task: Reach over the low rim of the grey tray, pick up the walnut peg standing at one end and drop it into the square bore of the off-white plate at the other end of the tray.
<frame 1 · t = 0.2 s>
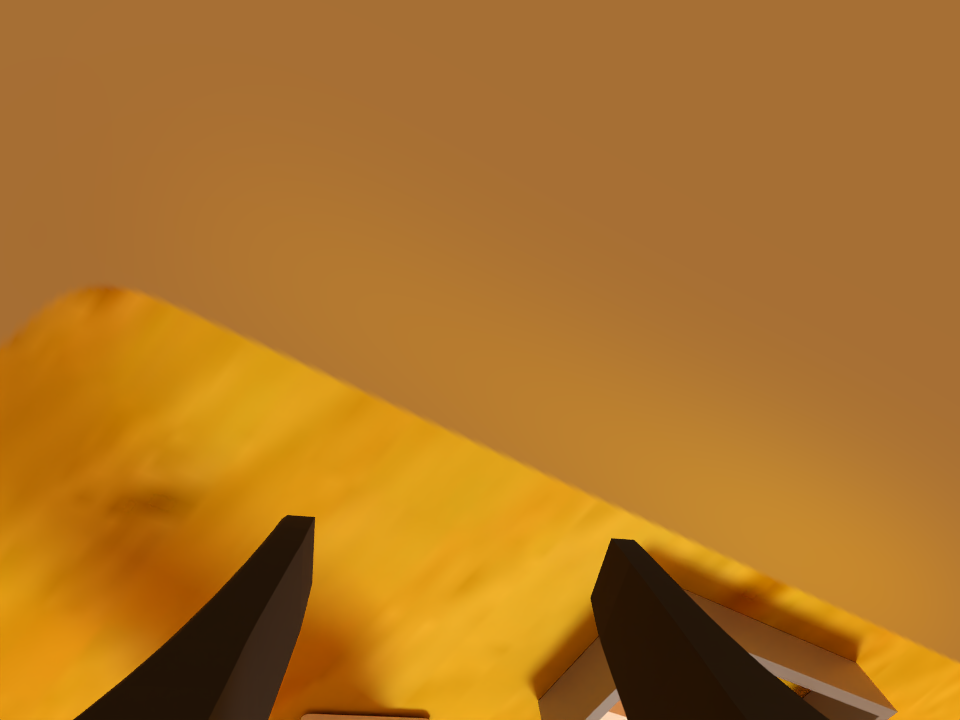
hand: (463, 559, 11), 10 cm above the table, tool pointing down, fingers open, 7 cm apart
grey tray: (700, 682, 30), on the table
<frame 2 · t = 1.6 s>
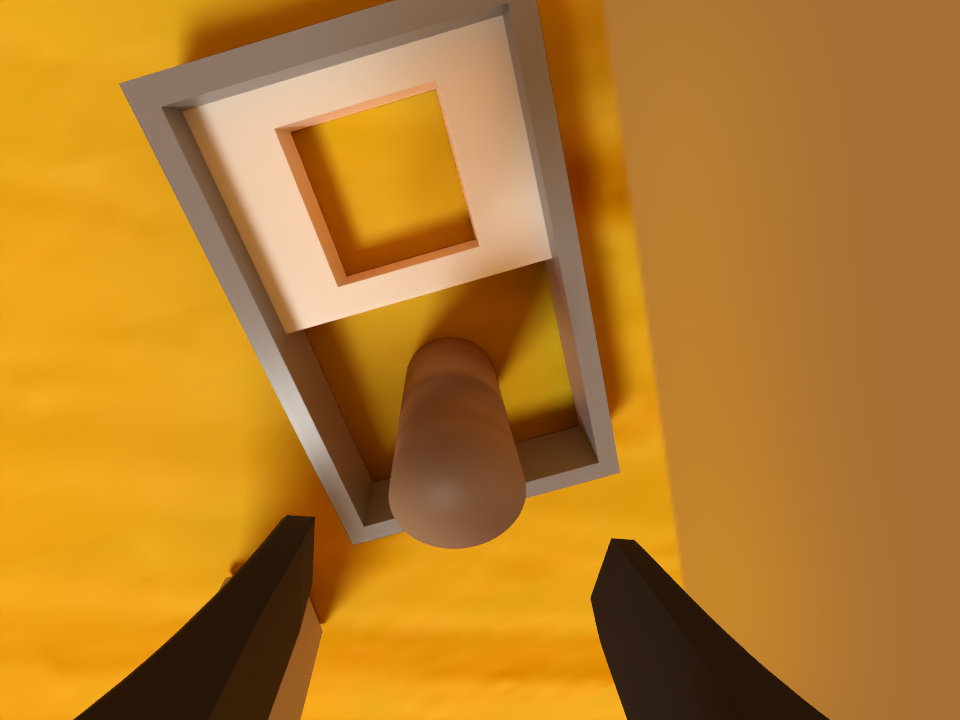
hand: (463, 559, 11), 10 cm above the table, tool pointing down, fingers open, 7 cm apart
grey tray: (423, 296, 19), on the table
walnut peg: (450, 379, 21), resting in grey tray
vintage mobile phone: (278, 597, 25), on the table
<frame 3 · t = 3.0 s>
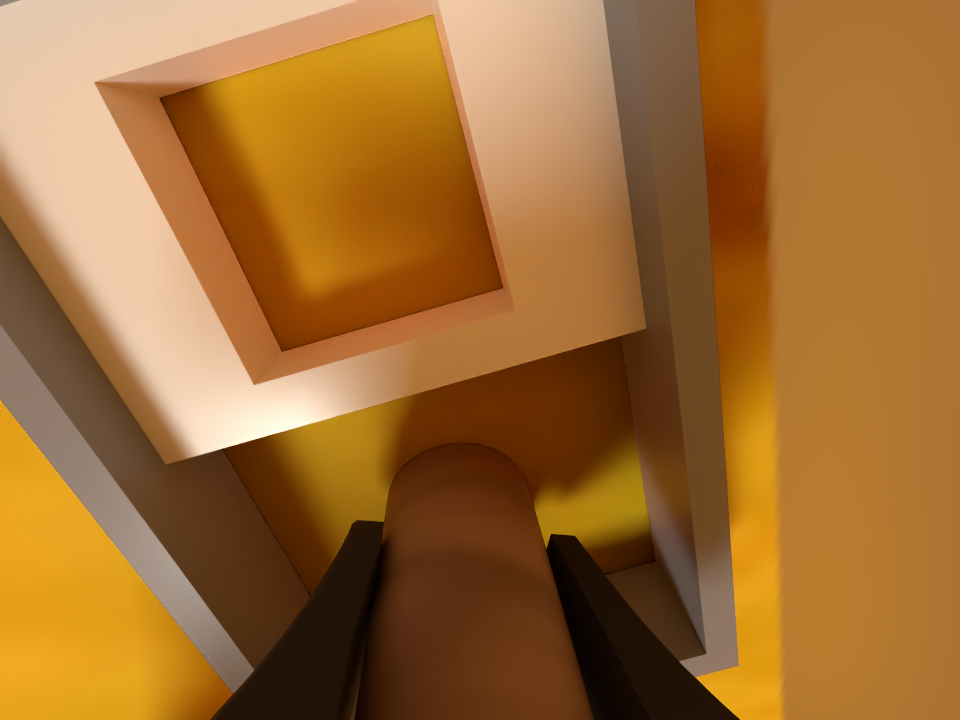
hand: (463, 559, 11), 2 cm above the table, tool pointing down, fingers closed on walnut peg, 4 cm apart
grey tray: (414, 381, 11), on the table
walnut peg: (459, 503, 13), resting in grey tray, touching gripper
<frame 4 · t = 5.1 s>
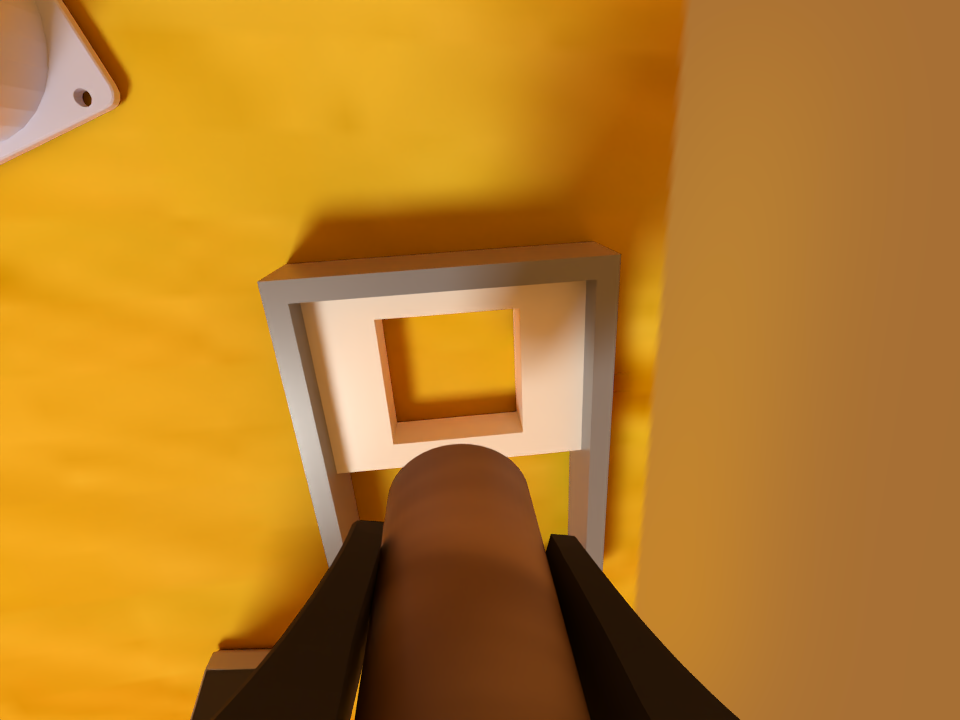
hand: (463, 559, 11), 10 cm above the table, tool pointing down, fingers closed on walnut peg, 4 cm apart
grey tray: (459, 447, 21), on the table
walnut peg: (459, 503, 13), point 8 cm above the table, touching gripper
vintage mobile phone: (257, 672, 26), on the table
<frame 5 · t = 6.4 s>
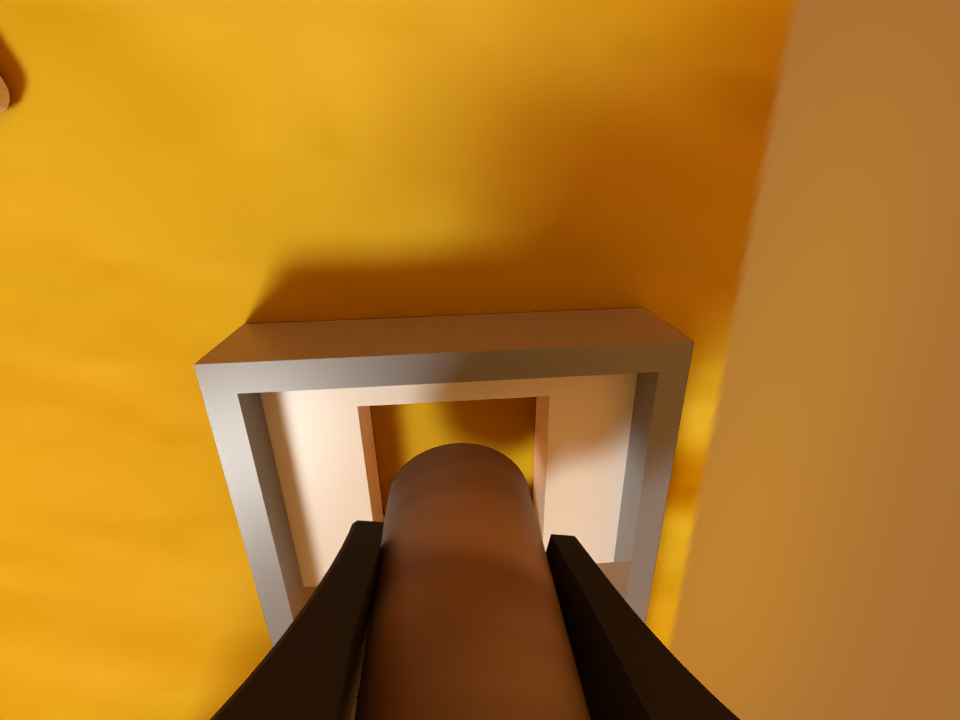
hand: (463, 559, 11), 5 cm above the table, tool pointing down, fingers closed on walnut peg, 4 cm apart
grey tray: (460, 545, 17), on the table
walnut peg: (459, 502, 13), point 3 cm above the table, touching gripper
when the fingers open (3 cm above the table, at t = 7.4 s): walnut peg stays where it is, resting in grey tray.
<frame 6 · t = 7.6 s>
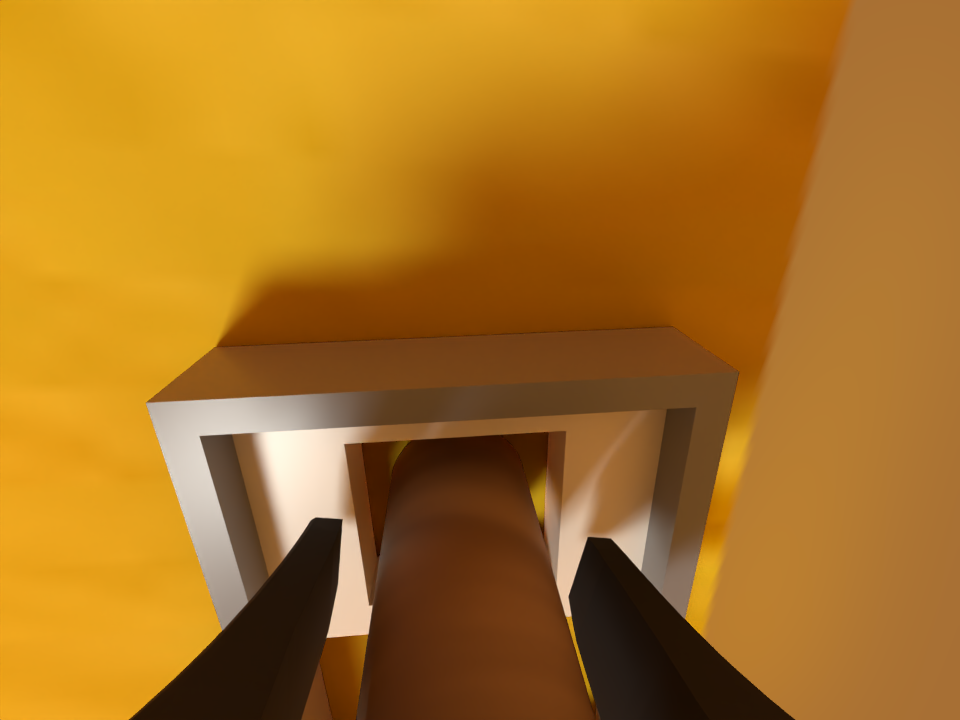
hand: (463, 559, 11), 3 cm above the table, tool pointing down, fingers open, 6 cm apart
grey tray: (462, 587, 16), on the table
walnut peg: (458, 482, 14), resting in grey tray
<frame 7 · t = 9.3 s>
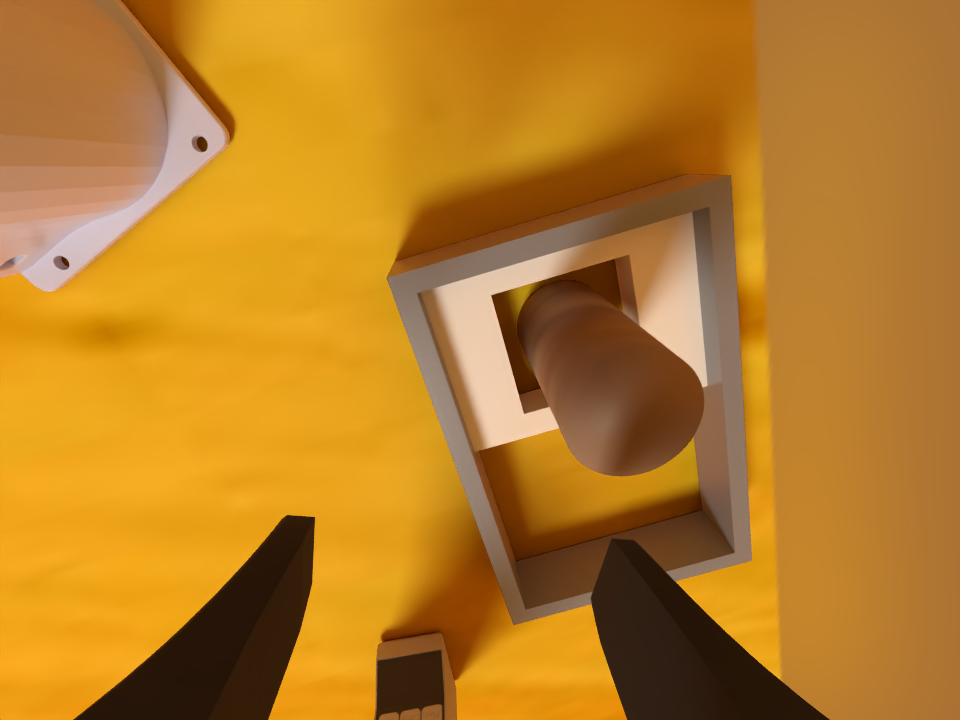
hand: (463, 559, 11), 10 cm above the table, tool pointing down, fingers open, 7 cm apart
grey tray: (580, 408, 22), on the table
walnut peg: (562, 325, 20), resting in grey tray
vintage mobile phone: (418, 658, 28), on the table
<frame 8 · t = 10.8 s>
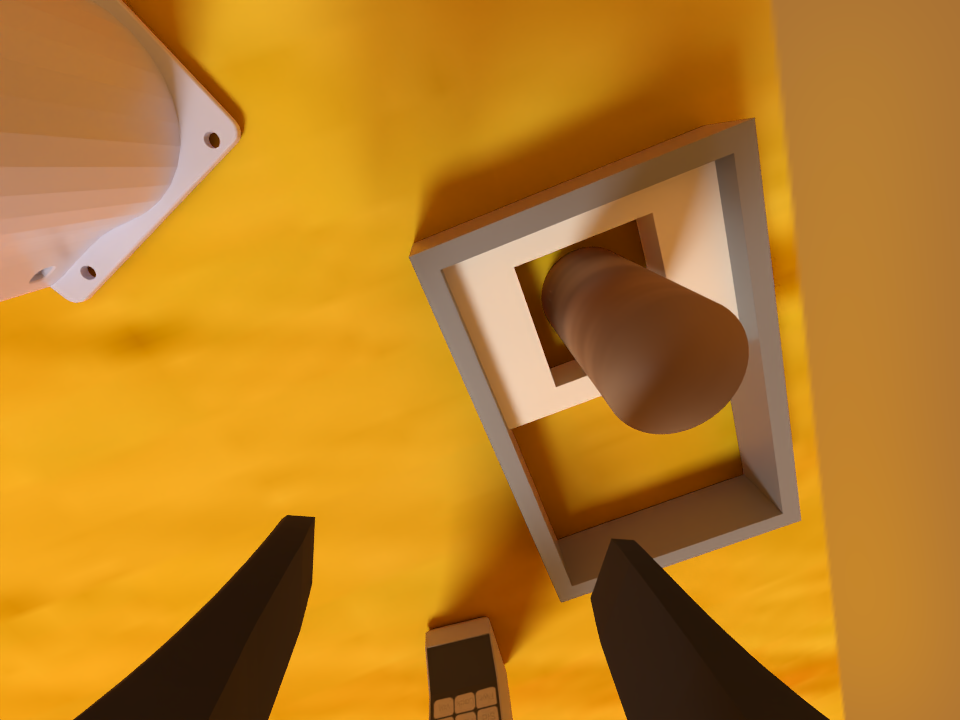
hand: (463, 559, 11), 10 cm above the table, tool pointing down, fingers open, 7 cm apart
grey tray: (611, 379, 21), on the table
walnut peg: (587, 294, 20), resting in grey tray
vintage mobile phone: (466, 644, 28), on the table
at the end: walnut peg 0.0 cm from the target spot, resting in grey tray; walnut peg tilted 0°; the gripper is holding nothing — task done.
